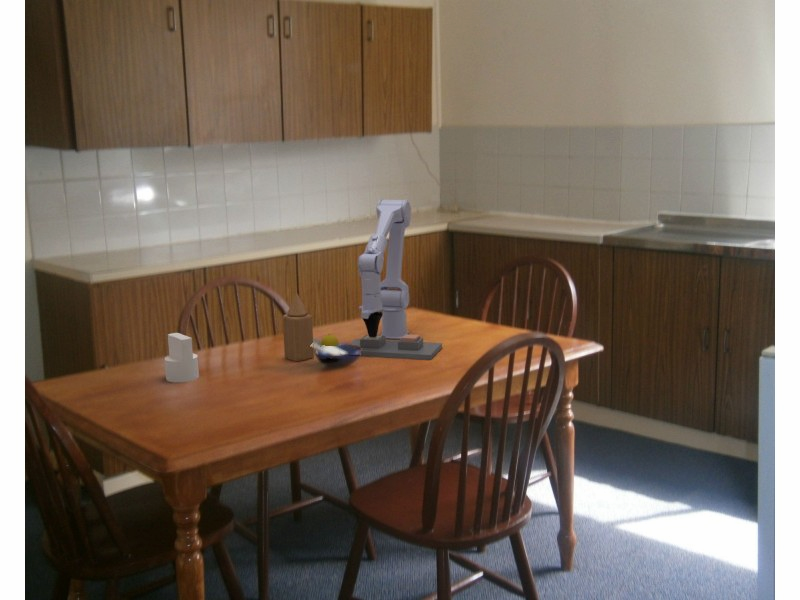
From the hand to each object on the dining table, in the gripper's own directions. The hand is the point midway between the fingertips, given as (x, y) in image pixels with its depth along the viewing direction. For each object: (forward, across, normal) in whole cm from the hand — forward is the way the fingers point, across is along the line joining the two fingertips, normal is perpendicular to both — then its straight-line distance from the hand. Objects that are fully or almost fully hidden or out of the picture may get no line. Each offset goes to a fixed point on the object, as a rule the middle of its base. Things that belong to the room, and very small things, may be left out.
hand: (372, 336), depth 278 cm
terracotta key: (+1, 0, +12) cm, 12 cm away
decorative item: (+4, +13, -19) cm, 23 cm away
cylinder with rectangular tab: (+4, +39, -43) cm, 58 cm away
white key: (+2, 0, 0) cm, 2 cm away
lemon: (+4, +13, -9) cm, 17 cm away
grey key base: (+4, 0, +6) cm, 7 cm away
